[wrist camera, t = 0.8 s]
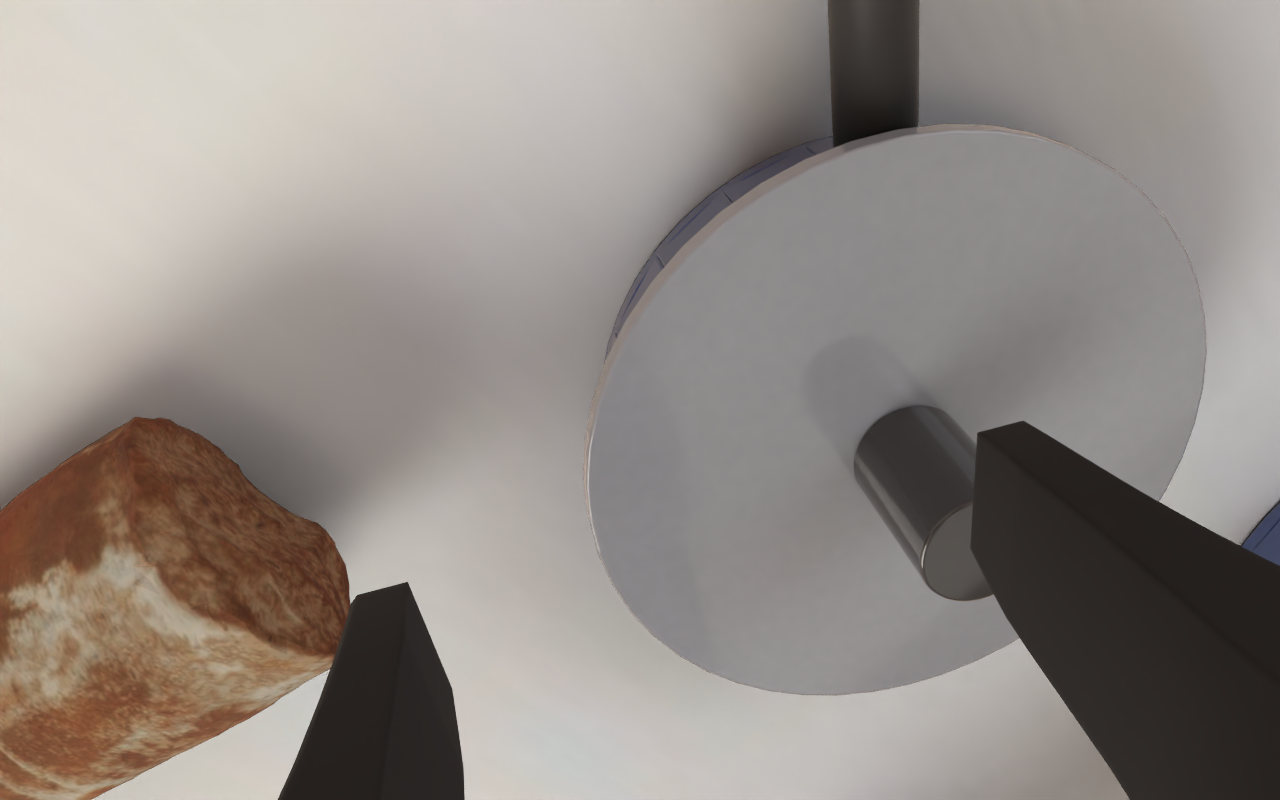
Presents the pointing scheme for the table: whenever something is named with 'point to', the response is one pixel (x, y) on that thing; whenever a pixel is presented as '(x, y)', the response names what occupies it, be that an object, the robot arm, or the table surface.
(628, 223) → the table surface
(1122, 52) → the table surface
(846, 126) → the pan handle
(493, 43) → the table surface
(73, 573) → the bread
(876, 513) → the lid
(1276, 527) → the pot
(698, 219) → the pan
